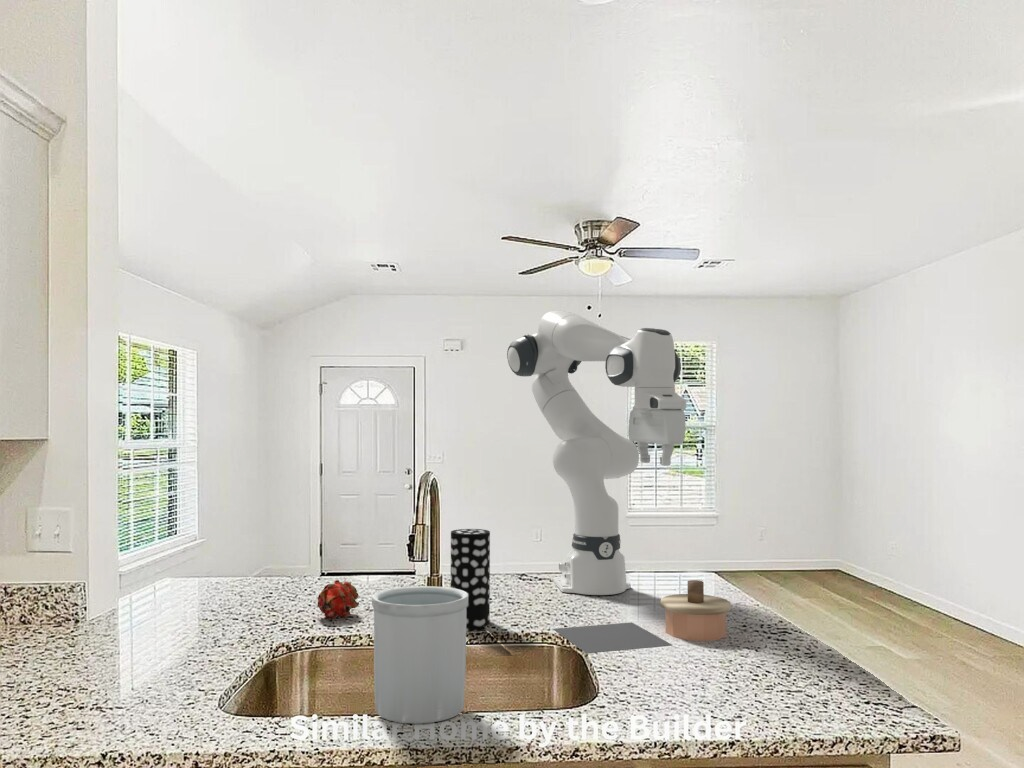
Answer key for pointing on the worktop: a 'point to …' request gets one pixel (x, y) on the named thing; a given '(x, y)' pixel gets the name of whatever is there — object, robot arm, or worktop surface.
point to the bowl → (696, 626)
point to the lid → (695, 601)
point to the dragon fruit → (337, 599)
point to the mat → (611, 637)
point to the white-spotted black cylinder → (472, 573)
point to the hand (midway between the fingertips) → (655, 464)
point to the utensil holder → (419, 653)
